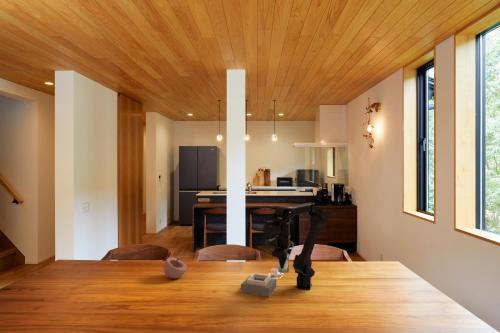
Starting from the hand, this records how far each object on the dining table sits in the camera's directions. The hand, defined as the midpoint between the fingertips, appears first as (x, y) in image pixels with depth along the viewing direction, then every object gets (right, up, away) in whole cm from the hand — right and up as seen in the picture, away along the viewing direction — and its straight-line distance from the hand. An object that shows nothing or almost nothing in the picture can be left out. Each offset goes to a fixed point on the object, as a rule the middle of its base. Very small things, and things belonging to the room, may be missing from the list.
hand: (283, 266), depth 144 cm
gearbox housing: (-11, -13, +5) cm, 18 cm away
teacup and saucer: (0, -13, +21) cm, 25 cm away
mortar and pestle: (-56, -13, +21) cm, 61 cm away
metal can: (0, -2, 0) cm, 2 cm away
